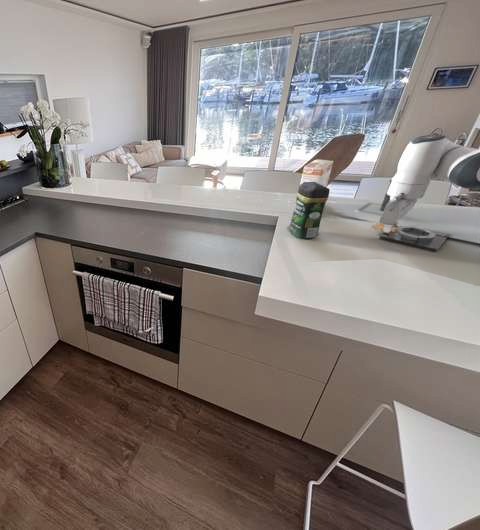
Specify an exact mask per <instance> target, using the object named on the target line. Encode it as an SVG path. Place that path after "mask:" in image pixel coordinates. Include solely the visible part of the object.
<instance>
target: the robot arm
mask: <svg viewBox="0 0 480 530" xmlns="http://www.w3.org/2000/svg"><path fill="white" fill-rule="evenodd" d="M396 169H397V171H396V173H395V175H394V176H393V179H392V182H391V184H390V183H389V184H390V187H389V189H388V188H387V189H388V192H387V191H386V192H387V194H388V195H390V196H391V197H390V201H389V202H388V203H387V205H386V207H385V209H384V211H382V213H381V214H380V215H381V216H380V218H379V221H378V223H380V224H384V225H385V227H384V230H383V229H382V231H383V233H384V232H387V233H389V232H390V231H391V230H392V228H393V226H394V227H396V226H398V224H399V223H400V221H401V219H402V218H403V217H404V216H406V214H408V213H409V212H410V211H412V209H413V207H414V206H415V204H416V203H417V201H418V200H419V199H422V198H423V197H424V196H425V194H426V191H427V189H428V187H429V185H430V183H431V180H432V179H434V178H437V179H439V180H442V181H446V182H449V183H452V184H453V185H456V186H458V187H460V188H463V189H466V190H469V189H470V190H471V189H472V190H473V189H477V188H480V148H474V147H469V146H465V145H461V144H458V143H456V142H453V141H451V140H449V138H448V137H447V136H446V135H443V134H427V135H422V136H418V137H415V138H413V139H412V140H411V141H410V142H409V143H408V144H407V146H406V147H405V149H404V151H403V153H402V154H401V156H400V159H399V161H398V164H397V168H396Z"/></svg>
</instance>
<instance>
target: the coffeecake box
mask: <svg viewBox="0 0 480 530" xmlns="http://www.w3.org/2000/svg"><path fill="white" fill-rule="evenodd" d="M333 164H334V160H327V159H315V160H313V161H311V162H309V163H308V164H307V165H304V166H303V170H302V174H301V179H300V183H299V186H300V185H301V184H302V183H304V182H316V183H318V184H320V185H323V186H325V187H327V188H328V183H329V180H330V176H331V173H332V169H333V166H334V165H333Z"/></svg>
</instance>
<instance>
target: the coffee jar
mask: <svg viewBox="0 0 480 530" xmlns="http://www.w3.org/2000/svg"><path fill="white" fill-rule="evenodd" d="M329 197H330V188H328V186H327V187H325V186H323V185H320V184H318V183H316V182H304V183H302V184H301V185H300V184H299V186H298V189H297V192H296V200H295V205H294V208H293V212H292V215H291V219H290V223H289V226H288V231H289V232H290V233H291V235H293V236H294V237H296V238H298V239H305V240H310V239H311V240H312V239H315V238H316V237H318V233H319V230H320V226H321V221H322V218H323V213H324V209H325V205H326V203H327V201H328V199H329Z"/></svg>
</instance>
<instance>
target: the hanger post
mask: <svg viewBox="0 0 480 530" xmlns="http://www.w3.org/2000/svg"><path fill="white" fill-rule="evenodd" d="M393 177H394V176H393ZM393 177H391V178H390V179H389V184H388V187H387V189H386V192H385V194H384V197H383V199H382V202H381V205H380V207H379V209H378V210H379V211H380V212H383V211H384V209H385V207H386V205H387V203H388V202H389V201H390V197H391V196H390V195H388V194H387V192H388V189H389V187H390V184H391V182H392V179H393Z"/></svg>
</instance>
